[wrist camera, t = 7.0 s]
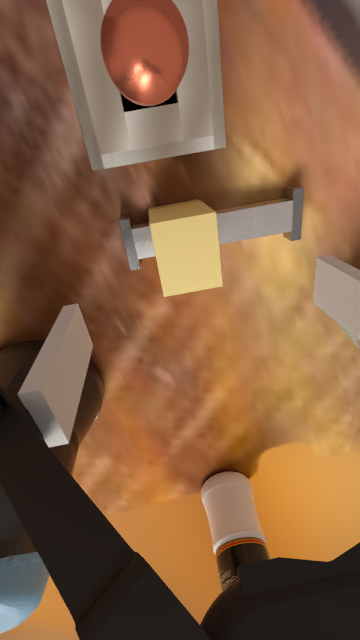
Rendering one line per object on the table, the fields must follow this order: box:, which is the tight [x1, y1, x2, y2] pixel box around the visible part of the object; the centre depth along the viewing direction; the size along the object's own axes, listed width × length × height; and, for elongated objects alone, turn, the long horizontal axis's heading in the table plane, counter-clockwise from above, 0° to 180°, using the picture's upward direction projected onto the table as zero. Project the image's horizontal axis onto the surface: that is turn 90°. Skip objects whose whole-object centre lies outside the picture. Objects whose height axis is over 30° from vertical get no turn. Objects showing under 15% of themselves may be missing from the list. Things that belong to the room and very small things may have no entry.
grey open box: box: [46, 0, 226, 171], centre depth 21 cm, size 9×9×9 cm
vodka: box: [201, 471, 270, 592], centre depth 41 cm, size 9×9×30 cm
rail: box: [118, 186, 304, 270], centre depth 30 cm, size 18×5×2 cm, turn 99°
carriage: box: [148, 199, 222, 297], centre depth 27 cm, size 5×6×8 cm
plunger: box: [100, 0, 189, 106], centre depth 16 cm, size 4×4×5 cm
